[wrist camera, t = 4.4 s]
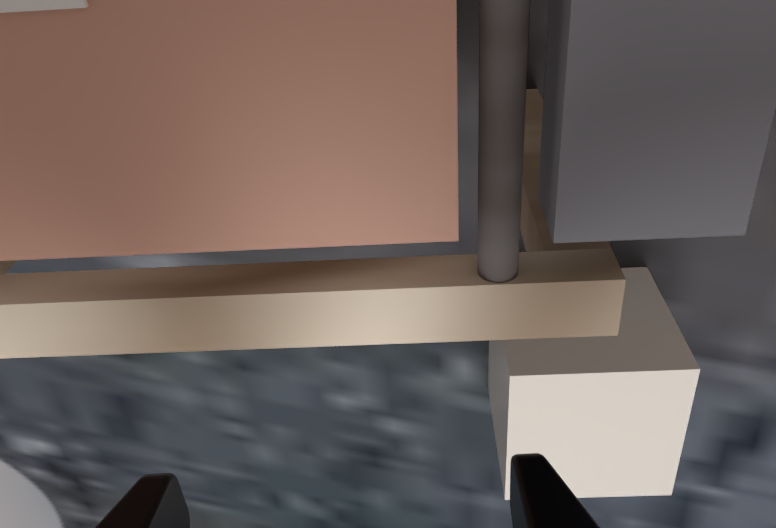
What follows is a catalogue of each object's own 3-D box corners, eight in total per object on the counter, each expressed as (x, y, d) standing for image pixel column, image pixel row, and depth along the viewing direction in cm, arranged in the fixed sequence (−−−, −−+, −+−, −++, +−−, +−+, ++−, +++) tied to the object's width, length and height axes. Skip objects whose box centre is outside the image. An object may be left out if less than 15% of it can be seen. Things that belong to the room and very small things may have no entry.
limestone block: (646, 265, 23) (700, 369, 19) (627, 382, 26) (671, 495, 22) (490, 272, 24) (509, 375, 19) (487, 386, 26) (504, 499, 22)
